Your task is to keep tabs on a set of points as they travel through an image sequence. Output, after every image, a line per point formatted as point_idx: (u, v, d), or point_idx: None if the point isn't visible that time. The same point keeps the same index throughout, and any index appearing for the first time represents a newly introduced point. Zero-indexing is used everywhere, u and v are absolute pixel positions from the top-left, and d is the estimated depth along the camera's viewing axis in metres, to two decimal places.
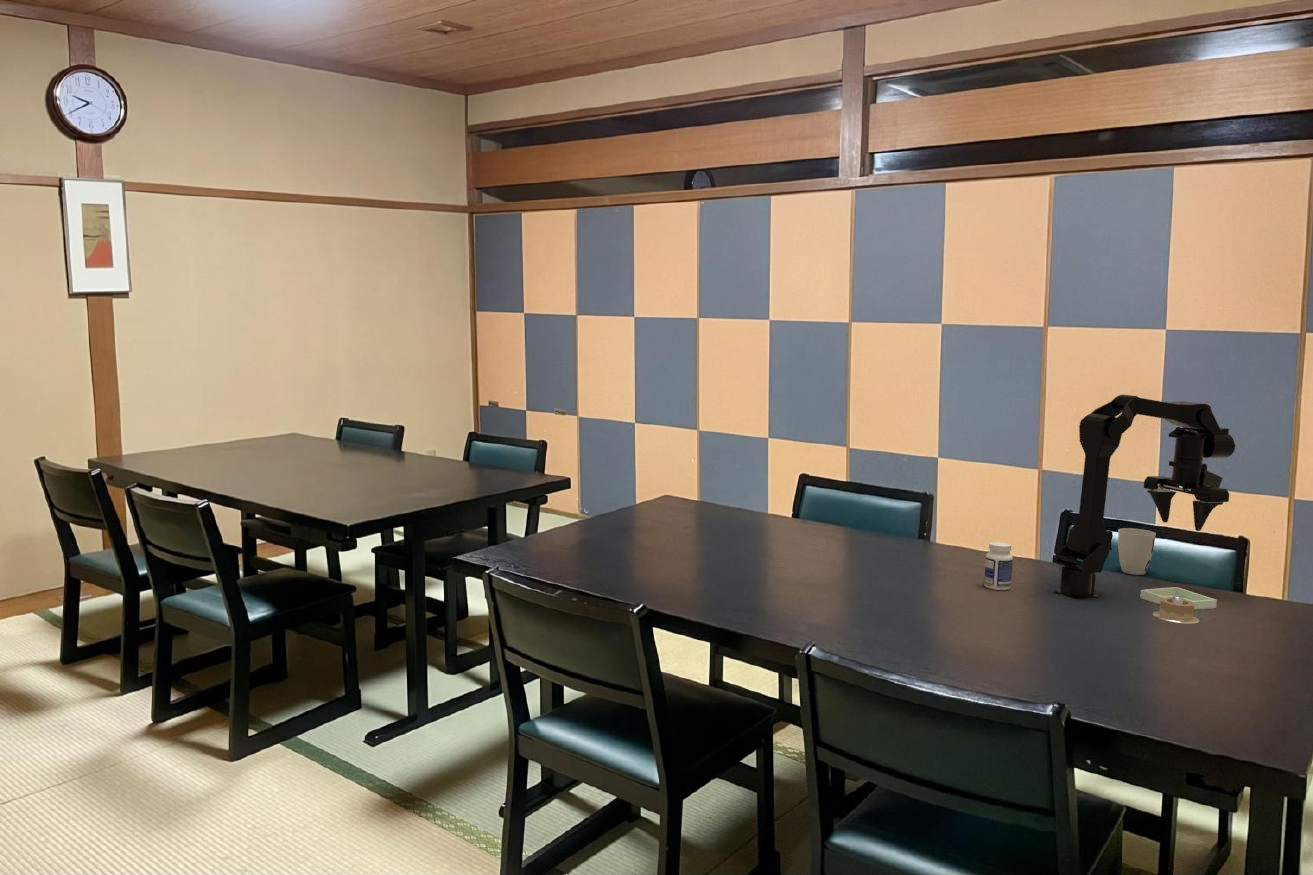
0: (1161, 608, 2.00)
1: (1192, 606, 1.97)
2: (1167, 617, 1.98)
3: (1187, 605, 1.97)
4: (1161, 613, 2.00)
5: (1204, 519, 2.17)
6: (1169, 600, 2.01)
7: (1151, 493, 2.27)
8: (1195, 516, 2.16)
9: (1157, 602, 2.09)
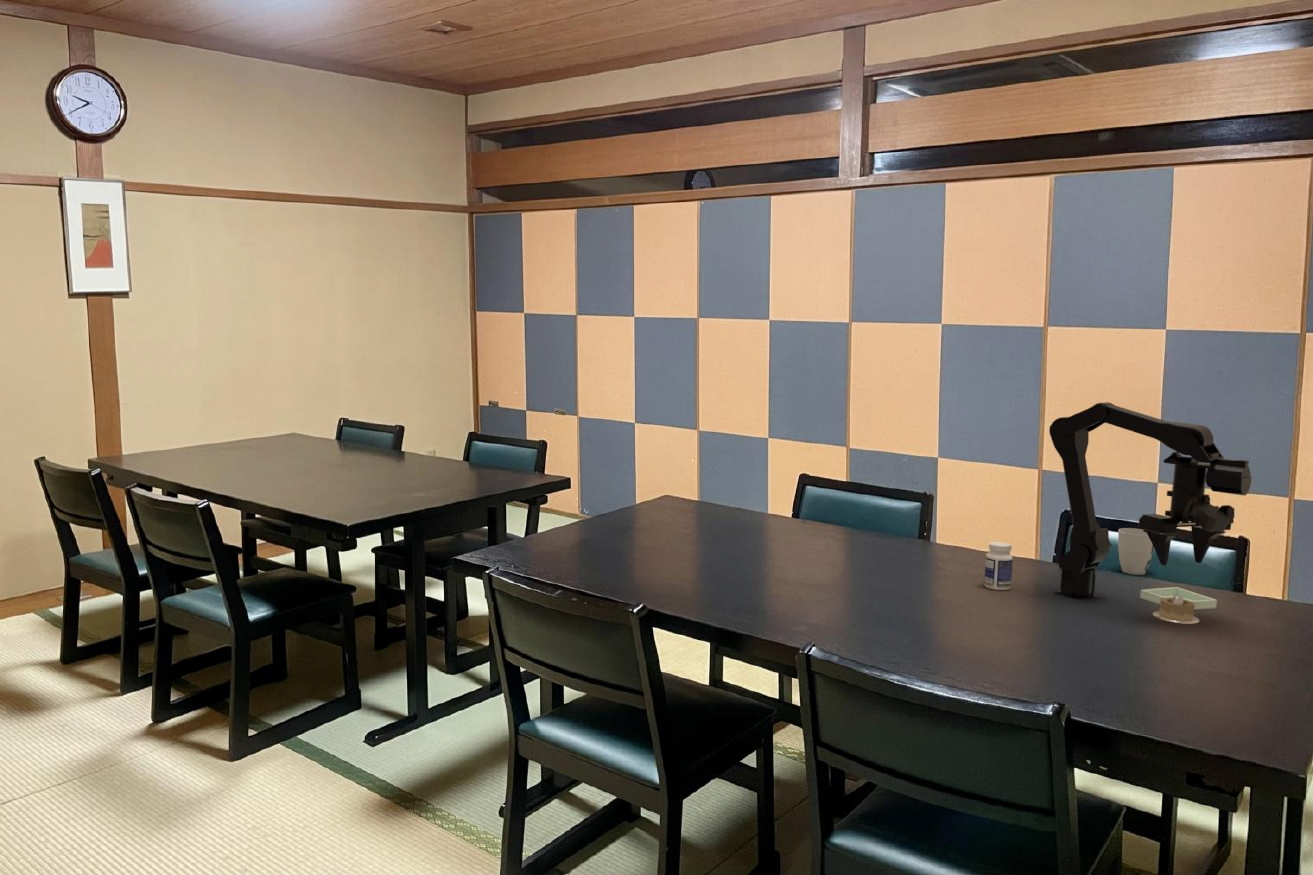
0: (1161, 608, 2.00)
1: (1192, 606, 1.97)
2: (1167, 617, 1.98)
3: (1187, 605, 1.97)
4: (1161, 613, 2.00)
5: (1162, 552, 1.96)
6: (1169, 600, 2.01)
7: None
8: None
9: (1157, 602, 2.09)
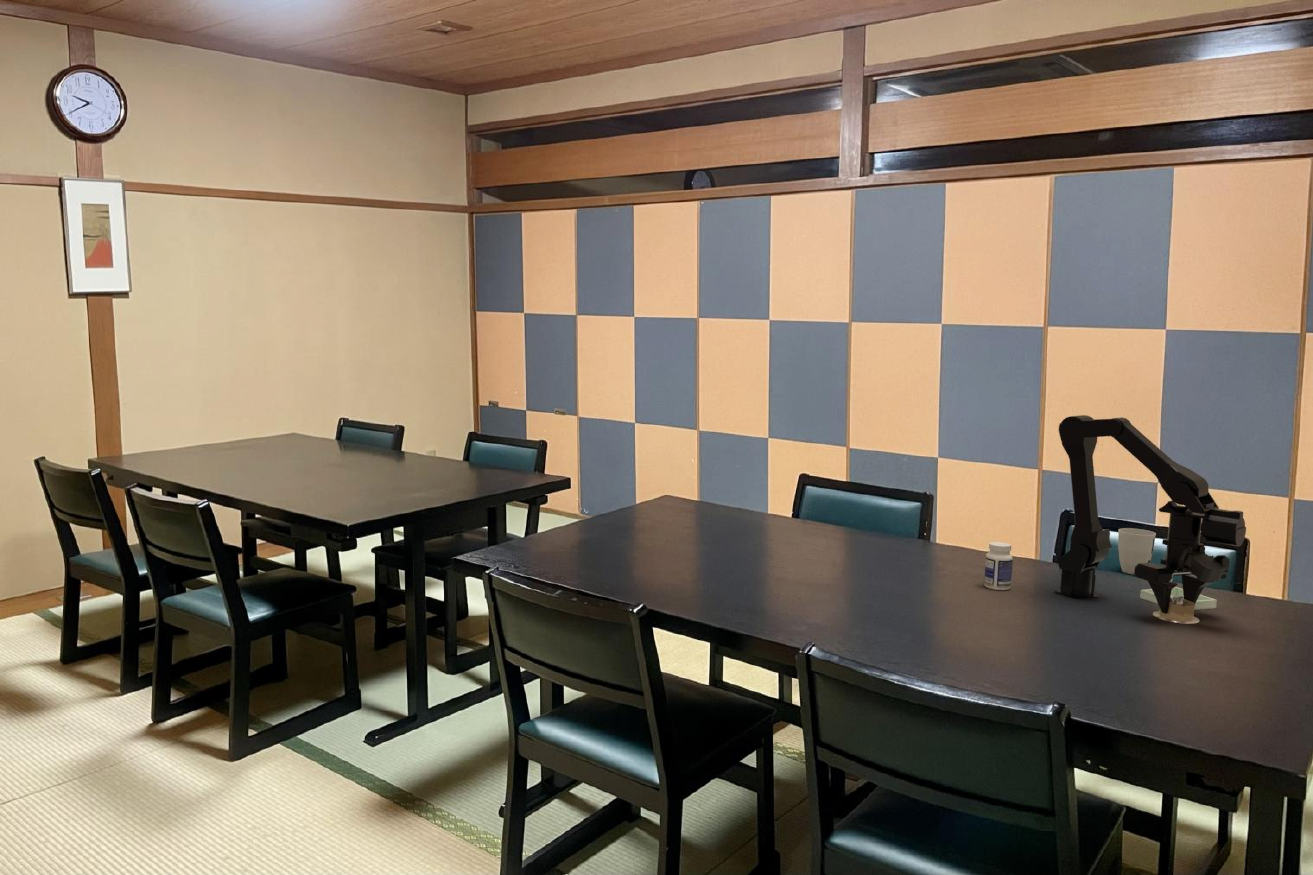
0: None
1: (1192, 606, 1.97)
2: (1167, 617, 1.98)
3: (1187, 605, 1.97)
4: (1161, 613, 2.00)
5: (1163, 600, 1.98)
6: None
7: None
8: None
9: (1157, 602, 2.09)
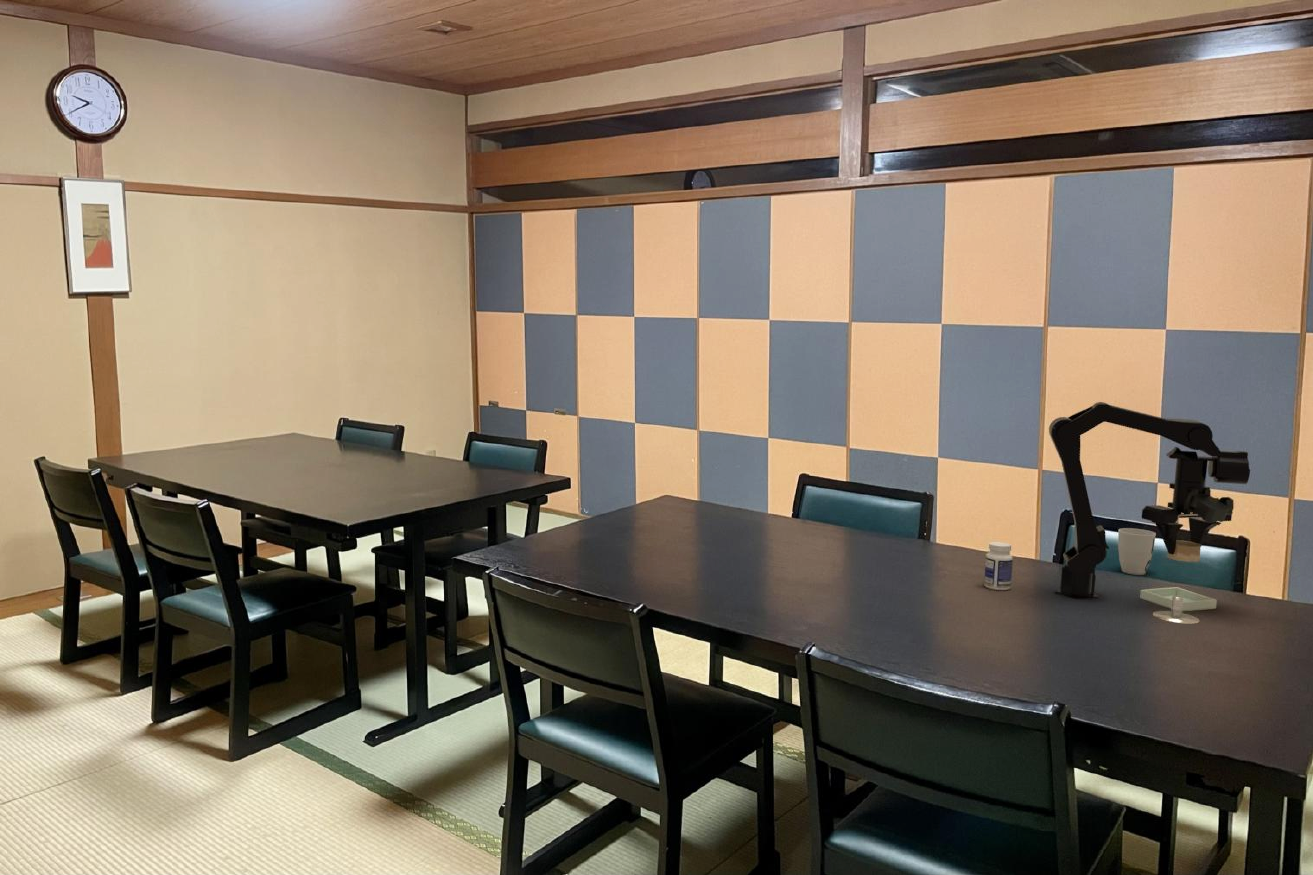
0: None
1: (1198, 547, 2.05)
2: (1174, 557, 2.06)
3: (1193, 546, 2.05)
4: (1168, 554, 2.08)
5: (1170, 541, 2.06)
6: (1176, 542, 2.09)
7: None
8: None
9: (1157, 602, 2.09)
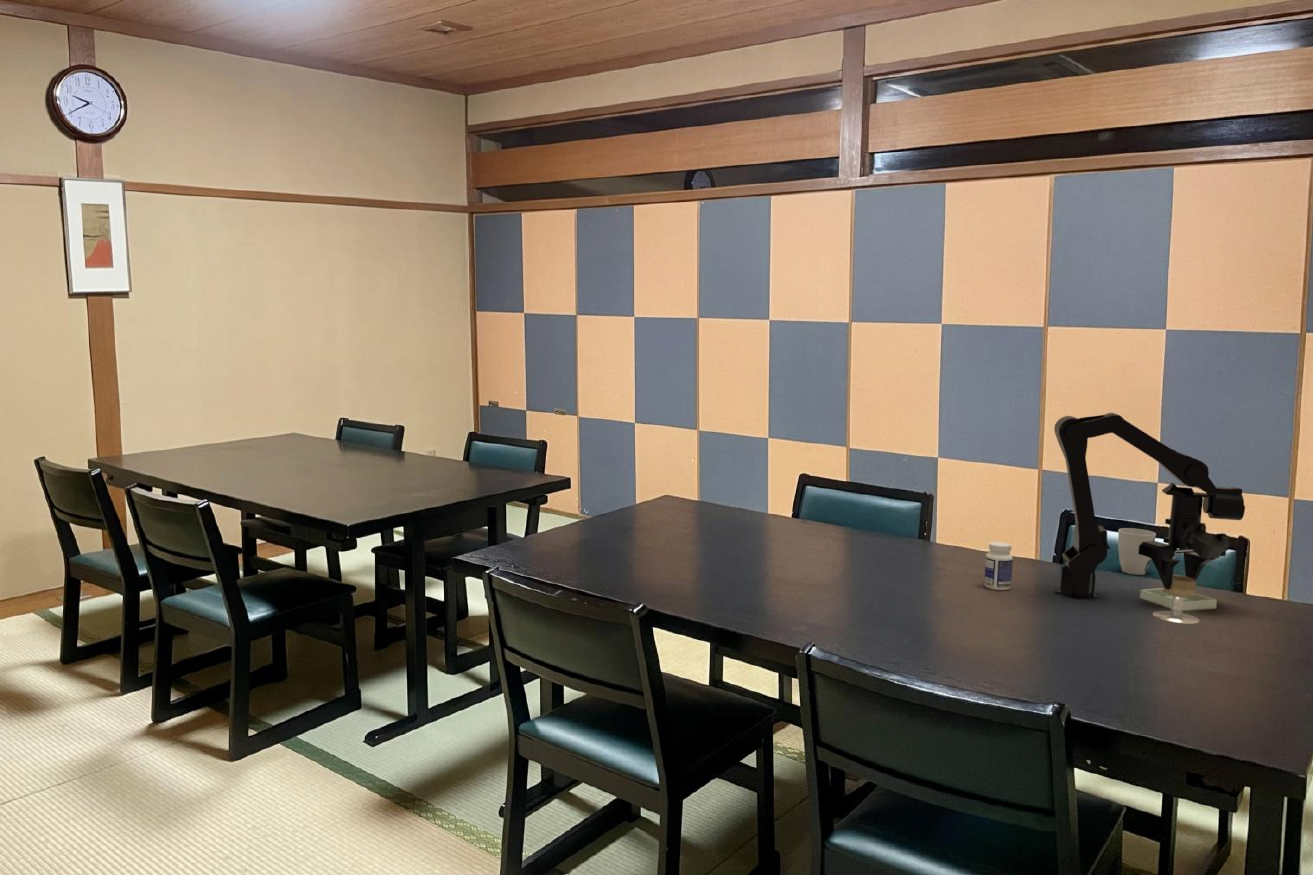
0: None
1: (1194, 582, 2.07)
2: (1170, 592, 2.08)
3: (1189, 581, 2.07)
4: (1164, 589, 2.10)
5: (1166, 577, 2.08)
6: (1172, 577, 2.11)
7: None
8: None
9: (1157, 602, 2.09)
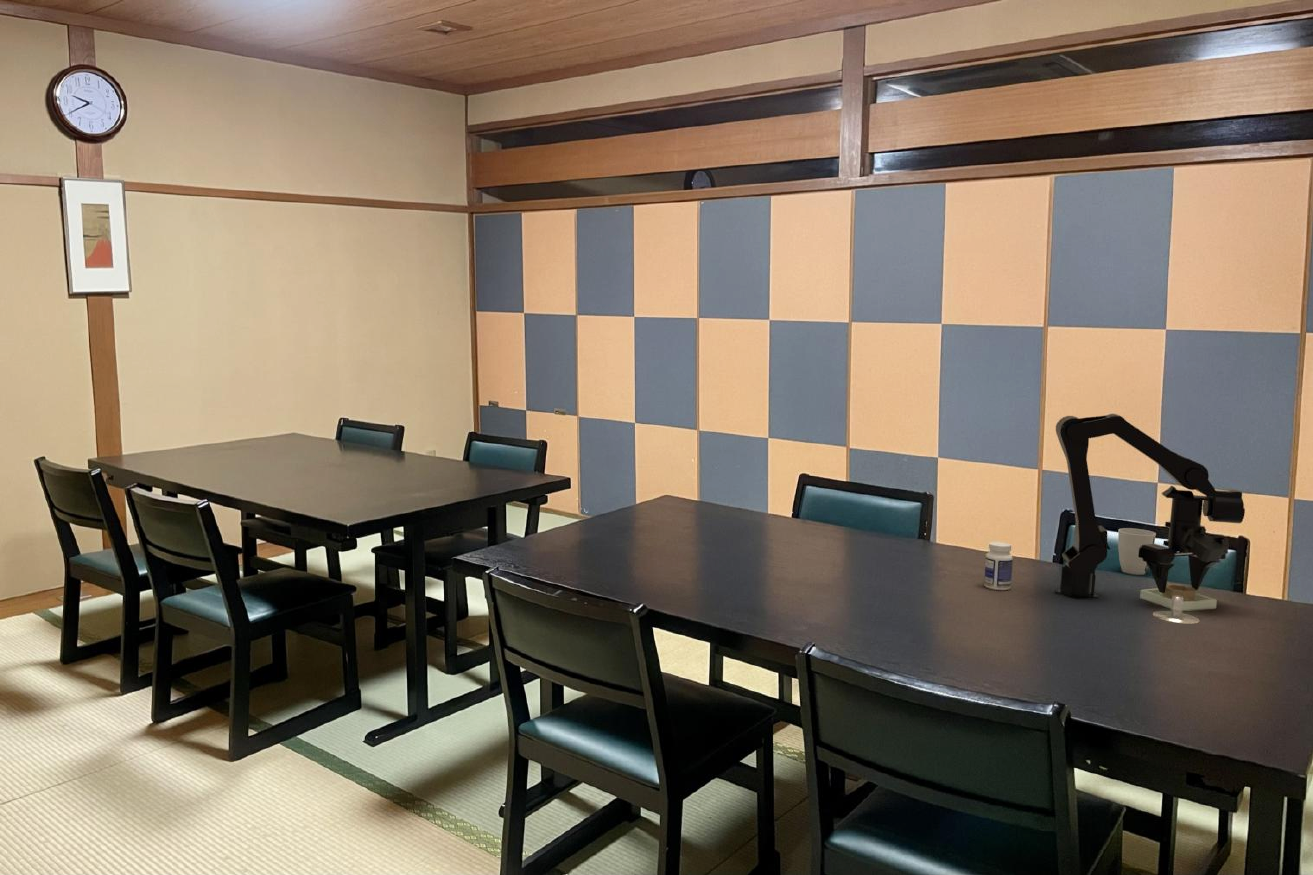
0: (1163, 594, 2.10)
1: (1193, 592, 2.07)
2: None
3: (1188, 591, 2.07)
4: None
5: (1161, 580, 2.07)
6: (1171, 586, 2.12)
7: None
8: None
9: (1157, 602, 2.09)
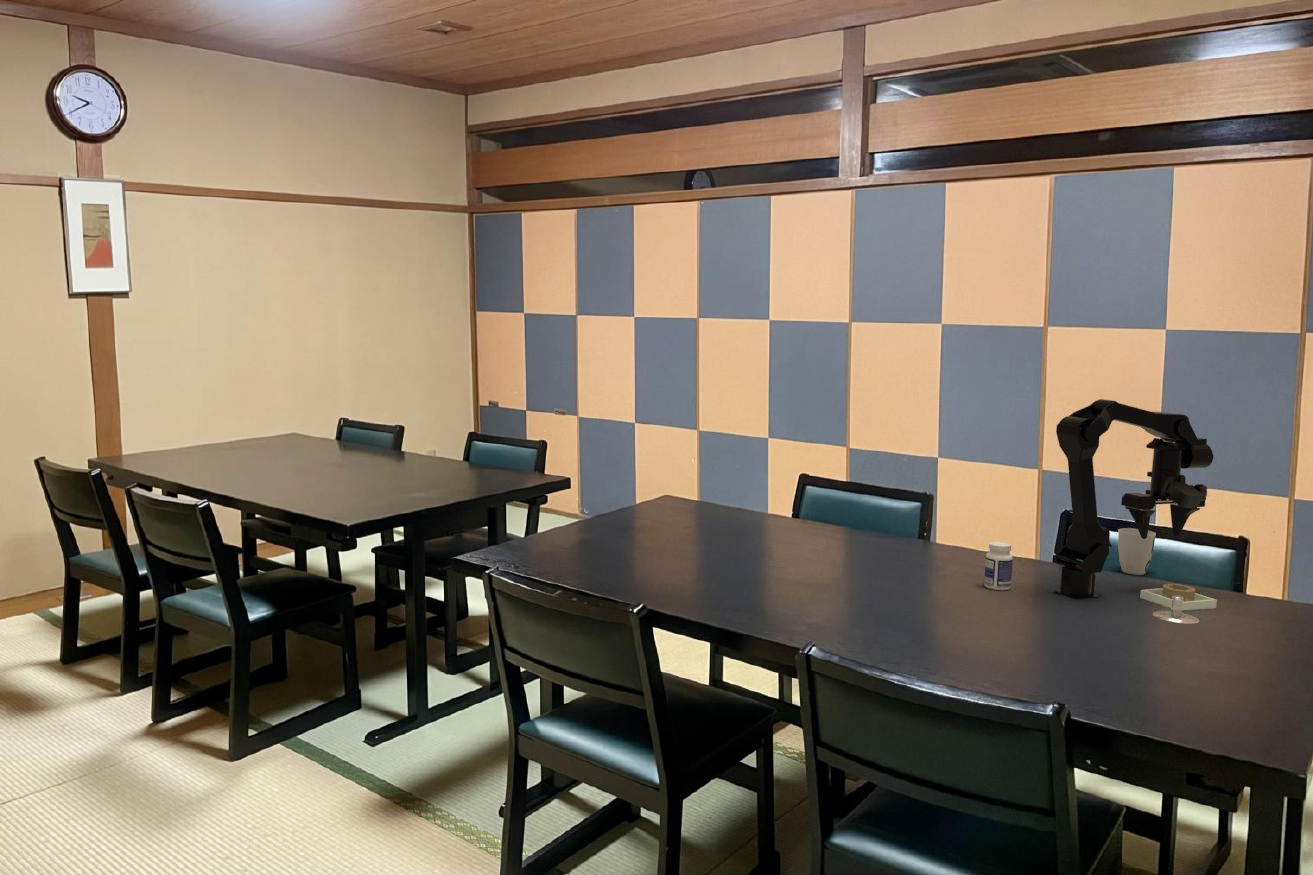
0: (1163, 594, 2.10)
1: (1193, 592, 2.07)
2: None
3: (1188, 591, 2.07)
4: None
5: (1142, 527, 2.18)
6: (1171, 586, 2.12)
7: None
8: None
9: (1157, 602, 2.09)
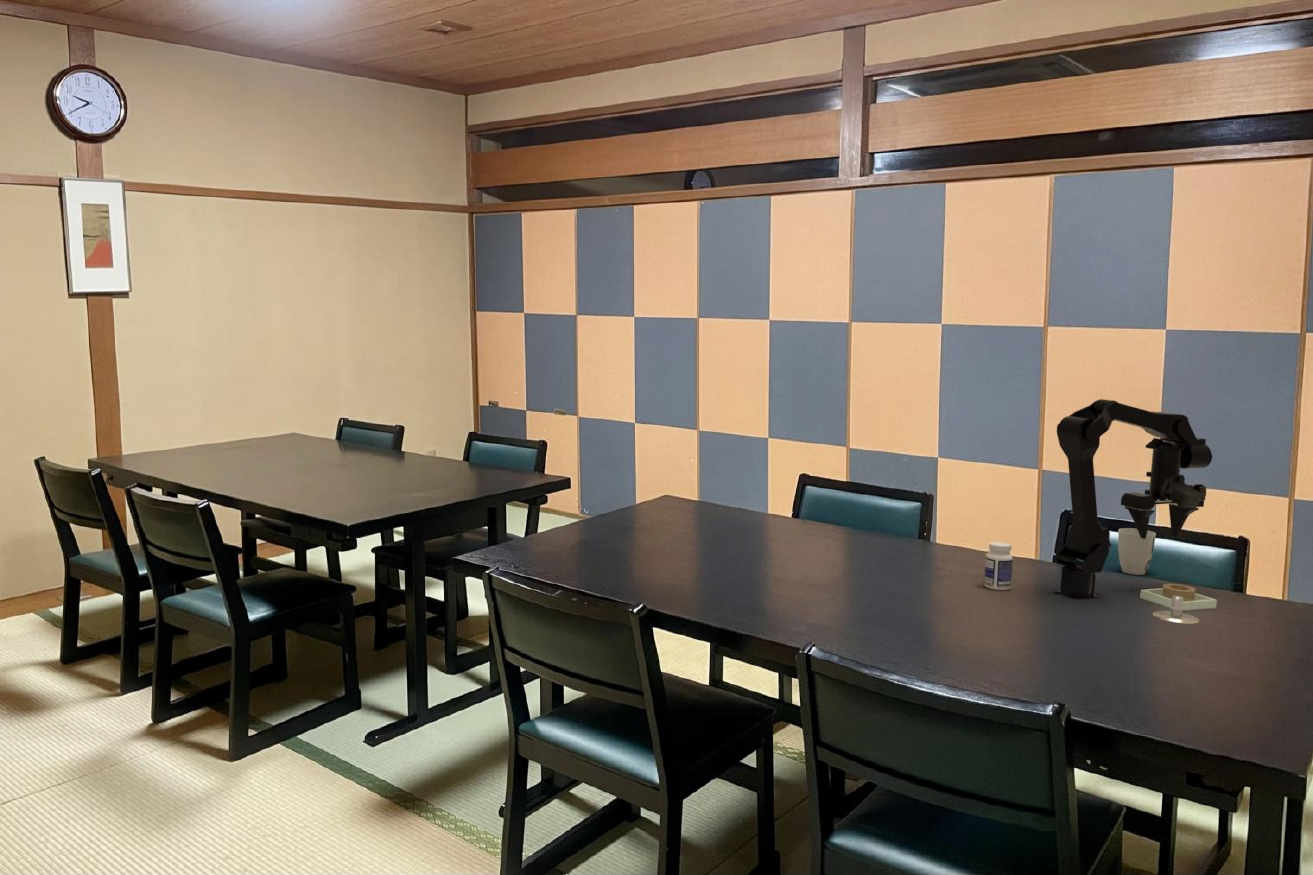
0: (1163, 594, 2.10)
1: (1193, 592, 2.07)
2: None
3: (1188, 591, 2.07)
4: None
5: (1142, 527, 2.18)
6: (1171, 586, 2.12)
7: None
8: None
9: (1157, 602, 2.09)
